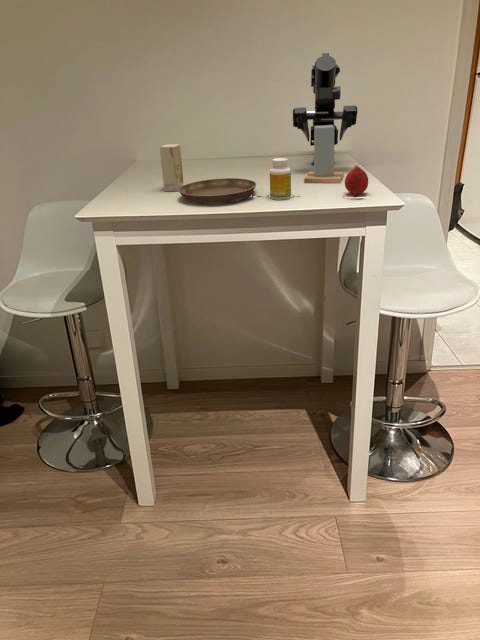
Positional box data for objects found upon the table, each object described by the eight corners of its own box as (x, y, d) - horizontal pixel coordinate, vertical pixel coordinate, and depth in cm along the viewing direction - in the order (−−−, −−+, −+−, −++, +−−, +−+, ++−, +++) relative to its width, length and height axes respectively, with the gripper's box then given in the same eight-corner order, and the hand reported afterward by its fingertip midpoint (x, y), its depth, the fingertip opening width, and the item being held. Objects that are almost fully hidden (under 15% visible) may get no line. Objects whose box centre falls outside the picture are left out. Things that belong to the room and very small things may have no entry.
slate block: (314, 173, 152) (314, 126, 146) (331, 172, 152) (332, 125, 146) (315, 176, 148) (315, 128, 142) (333, 175, 147) (334, 127, 141)
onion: (367, 194, 134) (369, 162, 131) (367, 199, 129) (369, 166, 126) (344, 194, 136) (345, 162, 132) (343, 199, 131) (345, 166, 127)
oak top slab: (309, 176, 156) (309, 171, 155) (343, 176, 153) (343, 171, 153) (304, 183, 147) (304, 178, 147) (340, 184, 145) (340, 178, 144)
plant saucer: (173, 209, 131) (172, 195, 130) (185, 191, 150) (184, 179, 148) (255, 206, 130) (255, 192, 129) (257, 188, 148) (257, 176, 147)
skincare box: (178, 191, 148) (173, 146, 143) (163, 191, 149) (158, 147, 144) (184, 186, 154) (180, 143, 149) (170, 186, 155) (166, 143, 149)
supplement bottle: (289, 200, 133) (289, 160, 128) (268, 200, 134) (267, 161, 129) (292, 195, 137) (292, 157, 133) (271, 195, 138) (271, 157, 134)
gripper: (292, 78, 151) (291, 122, 146) (358, 74, 149) (359, 120, 144) (293, 105, 162) (292, 147, 157) (355, 102, 159) (356, 145, 154)
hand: (324, 140), depth 153 cm, fingers open, 9 cm apart
